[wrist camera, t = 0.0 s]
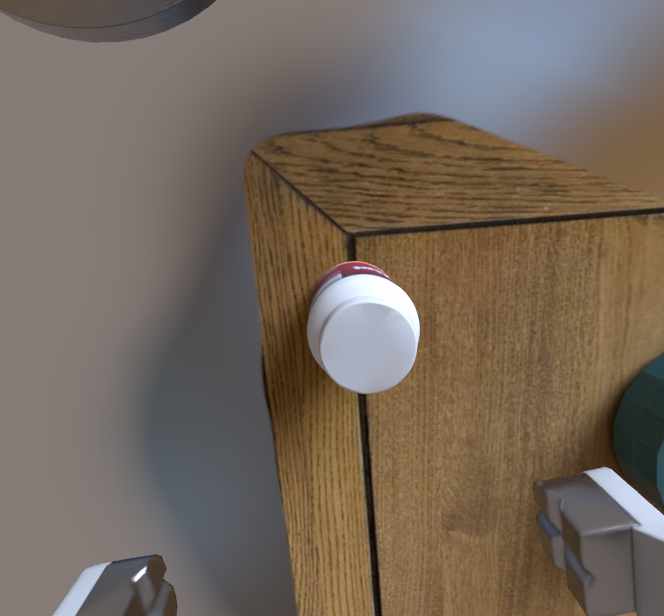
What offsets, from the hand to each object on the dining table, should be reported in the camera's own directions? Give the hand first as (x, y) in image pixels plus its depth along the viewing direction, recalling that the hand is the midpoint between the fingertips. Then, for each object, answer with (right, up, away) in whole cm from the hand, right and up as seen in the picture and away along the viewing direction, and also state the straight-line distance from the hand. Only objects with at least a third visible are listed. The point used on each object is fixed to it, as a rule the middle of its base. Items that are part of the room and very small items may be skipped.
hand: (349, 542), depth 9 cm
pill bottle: (+1, +6, +22) cm, 22 cm away
